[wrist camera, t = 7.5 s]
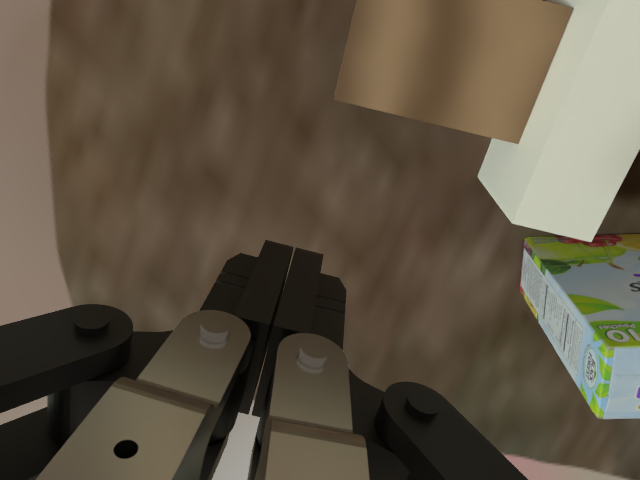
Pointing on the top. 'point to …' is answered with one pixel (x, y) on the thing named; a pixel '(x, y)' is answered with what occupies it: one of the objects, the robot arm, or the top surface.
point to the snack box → (590, 313)
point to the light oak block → (452, 61)
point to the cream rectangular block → (575, 126)
